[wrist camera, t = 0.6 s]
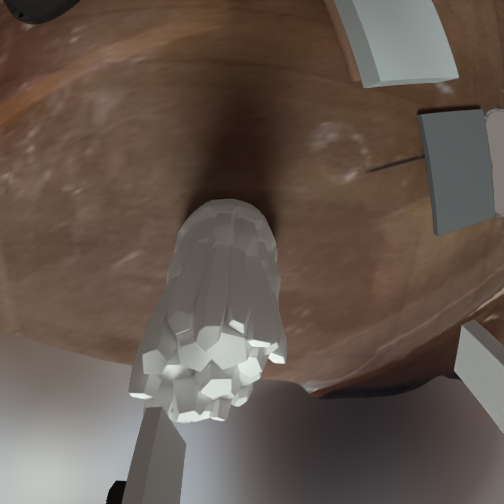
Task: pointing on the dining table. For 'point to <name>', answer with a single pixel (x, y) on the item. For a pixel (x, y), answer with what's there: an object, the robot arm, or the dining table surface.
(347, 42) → the brown open box
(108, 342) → the dining table surface
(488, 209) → the mat
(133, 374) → the white ridged column
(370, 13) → the board
